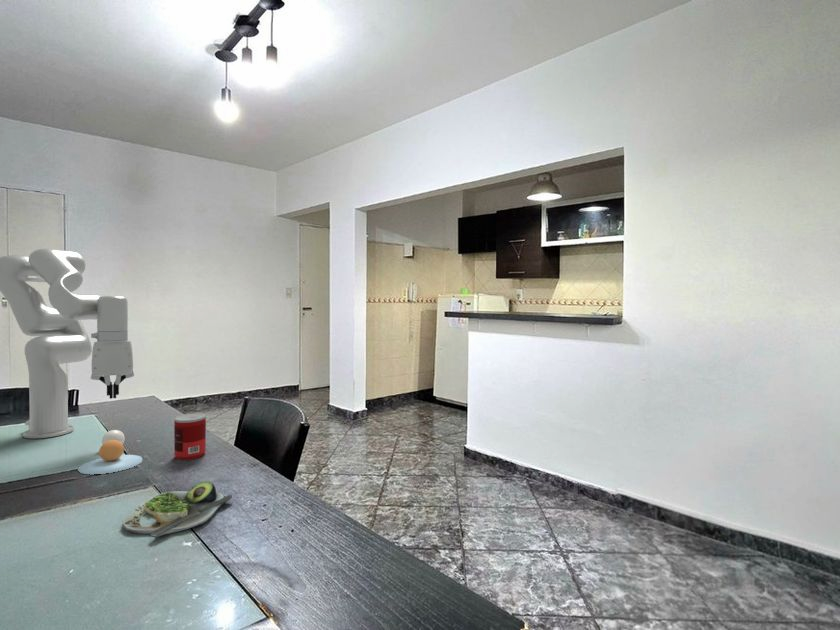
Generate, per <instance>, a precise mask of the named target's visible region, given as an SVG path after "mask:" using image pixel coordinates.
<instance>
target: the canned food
mask: <svg viewBox="0 0 840 630" xmlns="http://www.w3.org/2000/svg"><path fill="white" fill-rule="evenodd" d="M173 422H174V430H173V431H174V433H173V434H174V435H173V436H174V438H173V439H174V445H173V446H174V457H175V459H176V460H179V459H180V460H179V461H187V460H189V459H190V460H193V459H198V458H200V457H203V456H204V455H205V453H206V450H207V449H206V448H207V447H206V446H207V445H206V440H207V439H206V434H207V432H206V429H207V427H206V426H207V423H206V422H207V421H206V414H204V413H196V412H195V413H187V414H185V413H184V414H181V415H178V416H176V417H174V421H173Z"/></svg>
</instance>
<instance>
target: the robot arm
mask: <svg viewBox="0 0 840 630" xmlns="http://www.w3.org/2000/svg"><path fill="white" fill-rule="evenodd" d="M85 270H86V261H85V259H84V257H83V256H82V255H81V254H80V253H78V252H75V251H73V250H64V249H55V248H39V249H35V250H34V251H32V252H31V253H30V254H29V255H25V254H24V255H23V254H6V255H2V256H0V293H1V294H2V295H3V297H4V299H5V300H6V301H7V303H8V304H9V306H10V309H11V311H12V314H13V316H14V318H15V321H16V322H17V323H16V324H18V326H19V329H20V330H21V332H22V333H23V334H24V335H25V336H29V337H33V338H31V339H29V340H28V342H26V344H25V346H24V355H25V361H26V365H27V370H28V387H29V389H28V390H29V391H28V392H29V393H28V395H29V403H28V404H29V419H28V420H26V421H25V423H24V425H25V426H28V429H27V430H25V431H24V432H23V433H22V437H23V438H25V439H32V440H33V439H45V438H53V437H58V436H62V435H66V434H69V433H71V432H73V431H74V429H75V426H74V425H72V424H69V416H68V415H69V409H68V407H69V402H68V400H69V395H68V394H69V393H68V392H69V391H68V389H69V388H68V387H69V386H68V383H69V382H68V376H67V373H66V372H65V370H63V368H62V367H61V366H60V365H62V364H69V363H70V364H71V363H79V362H83V361H85V360H88V358H90V356H91V376H90V379H91V380H94V381H100V382H102V383H103V384H104V385H106V397H108V396H109V399H111V400H112V399H116V398H117V396H119V395H120V384H121V383H122V382H123V381H124V380H125V379H129V378H133V377H134V376H135V373H134V358H133V357H134V356H133V347H132V342H131V341H130V340H128V337H129V336H128V335H129V334H128V332H129V331H128V330H129V329H128V327H129V326H128V325H129V323H128V321H129V318H128V314H129V313H128V311H129V308H128V305H129V304H128V299H127V297H125V296H122V295H106V294H105V295H103V294H78V293H77V294H75V293H73V292H74V291H77V290H78V289H79V288H80V287H81V286H82V284H83V281H84V280H83V279H84V278H83V275H82V274H83V273H84V272H85ZM27 282H34V283H37V282H38V283H47V284H48V285H49V287H48V292H47V293H48V299H49V300H48V301H49V304H50V305H51V306H52V307H51V306H48V305H47V304H46V302H45V301H44V298H43V296H42V295H41V293H40V292H39V291H38V290H37V289H36V288H34V287H33V286H31V285H30V284H29V283H27ZM85 320H93V321H94V320H97V321H96V324H97V325H96V330H97V331H96V332H94V333H91V334H90V337H91V339H96V340H97V341H94V342H93V346H92V343H91V340H90V338H89V335H88V333H87V331H86V329H85V327H84V325H83V322H82V321H85ZM111 376H115V380H114V381H113V382H112V381H111Z"/></svg>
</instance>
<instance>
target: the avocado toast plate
mask: <svg viewBox="0 0 840 630" xmlns="http://www.w3.org/2000/svg"><path fill="white" fill-rule="evenodd" d="M232 498H233V495H232V494H228V495H227V496H226V495H224V494H223V492H222V493H221V492H219V491H217V490H216V486H215V485H214V484H213V482H210V481H202V482H199V483H196V484H195V485H193V486H192V489H190V490H189V491H182V490H179V491H178V490H176V491H175V490H174V491H167V492H162V493H158V494H156V495H153V496H151V497H149V498H147V499H146V500H144V501H143V502H142V503H140V504H139V506H137V507H136V508H135V509H134V510H133V511H131V512H129V514H127V516H125V517H124V518H123V520H122V524H121V526H122V527H123V528H124V529H125V530H127V531H128V532H131V533H132V534H133V533H134V534H136V533H137V534H139V535H149V536H150V537H152V538H157V537H160V536H163V535H169V534H174V533H178V532H180V531H181V532H182V531H186V530H188V529H191V528H196V527H198V526H200V525H203V524H204V523H205V522H207V521H208V520H209V519H210V518H211V517H212V516H213V515H214V514H215V513H216V512H217V511H218V510H219V508H221V507H222V506H223V505H225V504H226V503H227V502H228V501H230V500H231V499H232ZM146 514H149V515H150V516H153V518H154V519H155V521H156V522H157V525H154V526H153V525H152V527H151V526H142V525H141V524H140V520H141V519H142V517H143V516H144V515H146Z"/></svg>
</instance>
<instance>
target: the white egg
mask: <svg viewBox="0 0 840 630" xmlns="http://www.w3.org/2000/svg"><path fill="white" fill-rule="evenodd" d="M110 440H117V441H120V442H121V443H122V444H123V445H124V443H125V440H126V439H125V434H124V433H123V432H122V431H120V430H119V429H112V430H109V431H107V432H105V434H104V435H103V436H102V438H101V444H102V445H103V444H104V443H105V442H107V441H110Z"/></svg>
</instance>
